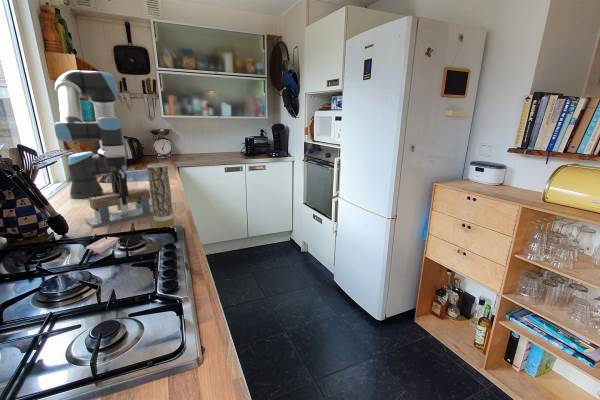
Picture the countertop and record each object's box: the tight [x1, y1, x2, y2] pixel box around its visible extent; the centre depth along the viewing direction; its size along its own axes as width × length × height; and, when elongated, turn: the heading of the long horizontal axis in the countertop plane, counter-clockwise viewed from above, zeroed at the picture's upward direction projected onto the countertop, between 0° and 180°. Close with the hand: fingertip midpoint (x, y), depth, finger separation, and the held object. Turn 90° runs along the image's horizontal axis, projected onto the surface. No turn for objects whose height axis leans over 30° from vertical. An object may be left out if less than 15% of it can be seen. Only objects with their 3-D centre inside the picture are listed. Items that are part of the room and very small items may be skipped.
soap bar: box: [85, 236, 120, 252], centre depth 101 cm, size 5×9×2 cm, turn 172°
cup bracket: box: [84, 195, 154, 229], centre depth 131 cm, size 10×26×9 cm, turn 137°
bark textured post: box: [146, 162, 175, 229], centre depth 116 cm, size 7×7×25 cm
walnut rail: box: [88, 188, 151, 210], centre depth 130 cm, size 4×22×4 cm, turn 137°
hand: (123, 210), depth 131 cm, fingers closed on walnut rail, 4 cm apart
